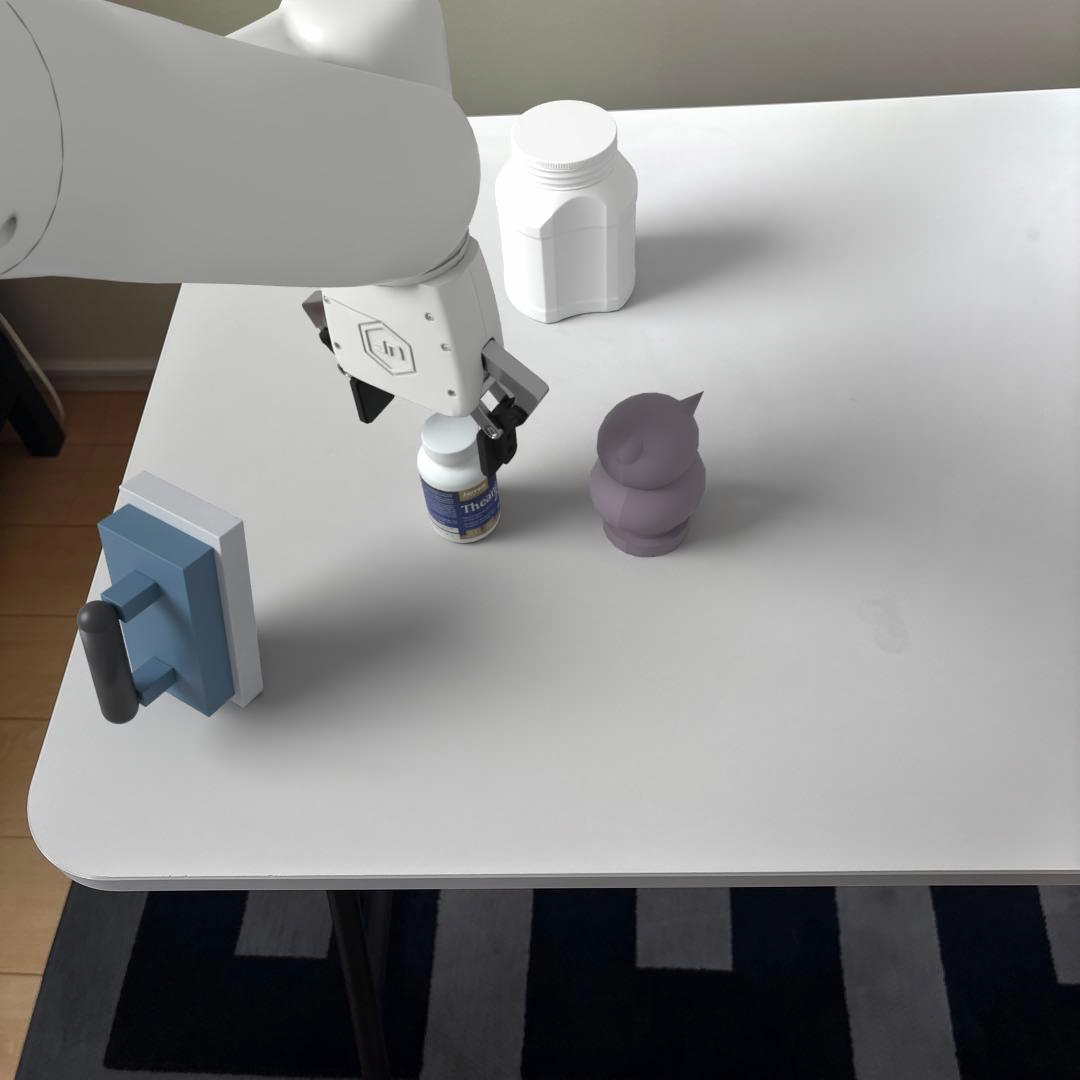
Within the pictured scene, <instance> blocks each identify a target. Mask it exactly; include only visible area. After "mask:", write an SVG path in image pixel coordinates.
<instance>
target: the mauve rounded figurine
mask: <svg viewBox="0 0 1080 1080" xmlns="http://www.w3.org/2000/svg"><path fill="white" fill-rule="evenodd" d="M704 392H705V391H704V390H702V391H700V392H697V393H695V394H693V395H690V396H688V397H685V398H683V399H680V400H679V399H677V398H675V397H673V396H671V395H670V394H666V393H661V392H642V393H639V394H638V393H637V394H634V395H630V396H628V397H626V398H625V399H623V400H621V401H620V402H618V403H617V404H616V405H614V406H613V408H611V409H610V411H608V412H607V414H606V415H605V416H604V418H603V420H602V421H601V425H600V426H599V429H598V431H597V436H596V437H597V439H596V453H597V456H598V457H597V459H596V461H595V463H594V465H593V467H592V469H591V471H590V478H589V488H588V489H589V490H588V491H589V495H590V498H591V500H592V504H593V506H594V509H595V511H596V512H597V513H598V514H599V515H600V517H601V518H602V527H603V530H604V533H605V535H606V538H607V539H608V540H609V541H610V542H611V544H612V545H613V546H614V547H615V548H617V549H618V550H620V551H621V552H623V553H625V554H628V555H631V556H634V557H639V558H654V557H658V556H662V555H667V554H668V553H669V552H672V551H673V550H675V549H676V548H678V547H679V546H680V544H682V542H683V541H684V540H685V539H686V537H687V534H688V532H689V528H690V523H691V515H692V514H693V513H694V511H696V510H697V508H698V507H699V505H700V503H701V500H702V498H703V496H704V493H705V490H706V487H707V486H706V485H707V482H706V481H707V480H706V475H707V474H706V473H707V472H706V466H705V464H704V462H703V459H702V457H701V455H700V452H699V451H698V450H699V447H700V430H699V426H698V423H697V420H696V418H695V416H694V415H695V413H696V411H697V408H698V406H699V404H700V401H701V399H702V397H703V394H704Z"/></svg>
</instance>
